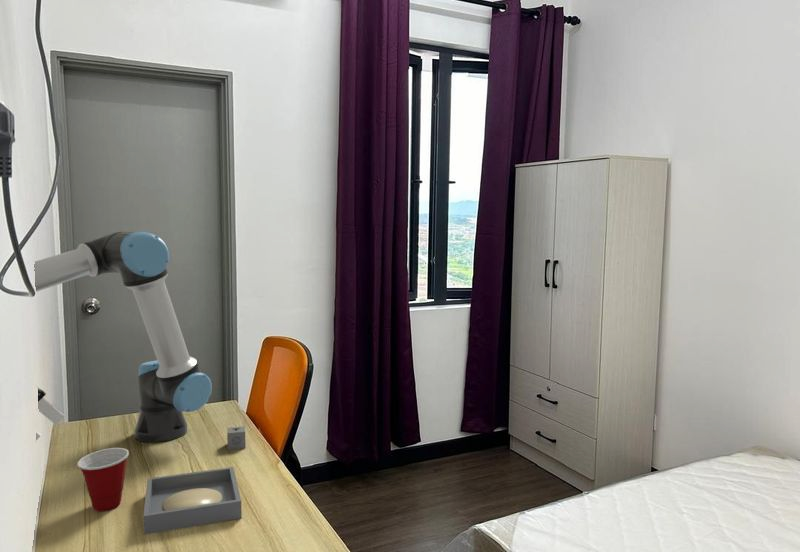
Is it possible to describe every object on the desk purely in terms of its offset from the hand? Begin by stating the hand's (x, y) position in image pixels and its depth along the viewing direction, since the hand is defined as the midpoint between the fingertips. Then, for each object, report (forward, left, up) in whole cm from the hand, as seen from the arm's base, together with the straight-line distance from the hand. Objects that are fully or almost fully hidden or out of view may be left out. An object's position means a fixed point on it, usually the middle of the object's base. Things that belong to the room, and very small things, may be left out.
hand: (49, 429), depth 137 cm
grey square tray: (+9, +30, -19) cm, 37 cm away
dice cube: (-27, +43, -19) cm, 54 cm away
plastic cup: (+2, +11, -19) cm, 22 cm away
